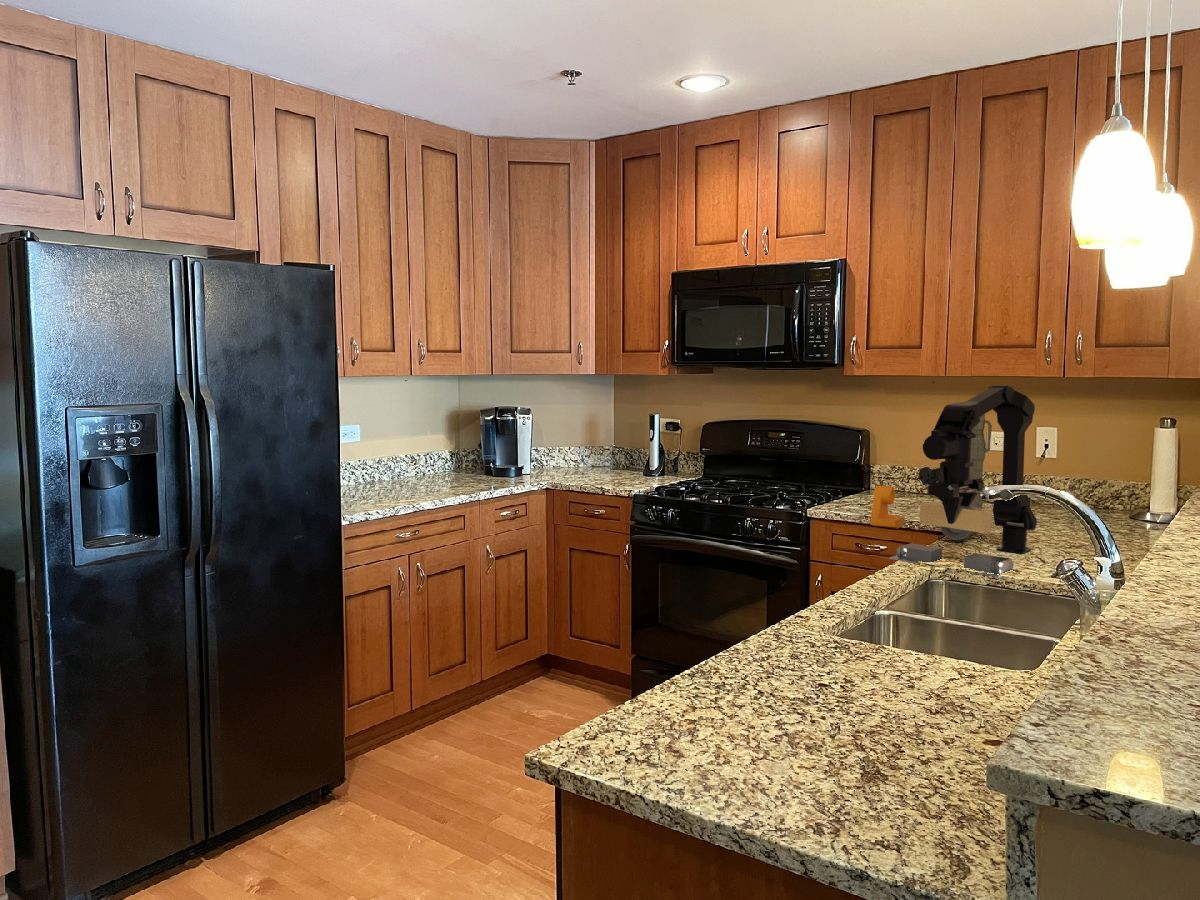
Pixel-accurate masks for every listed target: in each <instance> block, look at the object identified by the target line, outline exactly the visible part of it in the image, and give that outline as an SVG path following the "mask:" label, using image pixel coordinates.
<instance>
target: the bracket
mask: <svg viewBox="0 0 1200 900" xmlns="http://www.w3.org/2000/svg"><path fill="white" fill-rule="evenodd" d="M895 497H896V489H895V486H891V485H890V486H888V485H876V486H875V488H874V493H873V500H872V508H871V512H870V513H871V515H870V525H871V526H872V527H878V528H879V527H880V528H888V529H896V530H897V529H901V527H903V526H904V525H903V524H904V523H905V515H898V514H889V506H888V505H894V504H895V503H894V502H895V499H896V498H895Z"/></svg>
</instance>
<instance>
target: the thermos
mask: <svg viewBox="0 0 1200 900" xmlns="http://www.w3.org/2000/svg"><path fill="white" fill-rule="evenodd" d="M985 414H986V413H985ZM985 414H984V415H982V416H981V417H980V422H979V423H978V424H977V425H976V426H975V427H974V428H973V429H972V430H971V431H972V432H973V433H974V434H975V435H976V437H975V438H971V461H970V462H974V464H973V466H972V467H970V477H971V478H981V479H982V480H983V474H984V473H983V471H984V461H985V459H986V453H989V451H990V450H991V441H992V440H991V439H992V427H993V425H992V423H991V422H990V420H986V419H985V418H986V415H985ZM985 424H987V426H988V427H987V445H986V441H985V434H984V431H985ZM972 492H976V493H977V495H976V496H975V498H974V499H973V501H976V502H978V503H979V504H980V505H981V506H982V507H983V504H984V498H983V499H982V498H981V497H980V491H977V489H972Z"/></svg>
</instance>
